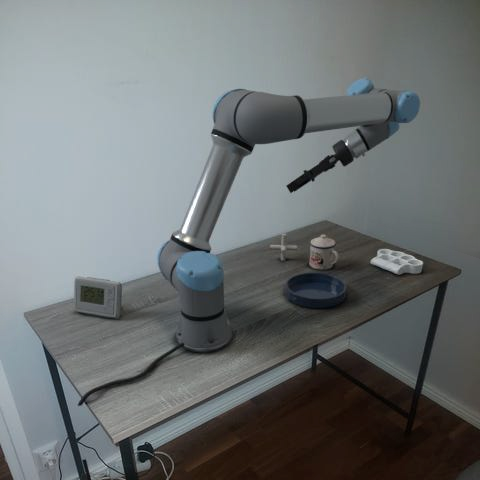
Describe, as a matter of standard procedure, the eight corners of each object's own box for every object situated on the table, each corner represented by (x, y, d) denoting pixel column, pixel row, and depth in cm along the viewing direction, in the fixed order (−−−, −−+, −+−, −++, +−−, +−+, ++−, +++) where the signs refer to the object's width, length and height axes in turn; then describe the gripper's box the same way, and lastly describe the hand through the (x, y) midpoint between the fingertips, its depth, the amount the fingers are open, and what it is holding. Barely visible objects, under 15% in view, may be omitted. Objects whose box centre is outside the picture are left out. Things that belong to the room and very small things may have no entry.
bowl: (337, 313, 135) (338, 303, 134) (277, 301, 142) (277, 292, 140) (350, 287, 150) (351, 278, 149) (295, 277, 157) (296, 268, 155)
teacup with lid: (303, 264, 167) (305, 234, 161) (320, 258, 172) (322, 229, 166) (328, 275, 159) (331, 244, 153) (344, 268, 164) (348, 237, 158)
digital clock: (71, 312, 138) (64, 281, 133) (93, 300, 145) (87, 269, 139) (110, 325, 131) (104, 292, 126) (131, 311, 138) (126, 280, 132)
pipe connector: (296, 255, 175) (297, 230, 170) (296, 265, 166) (297, 239, 161) (270, 254, 176) (271, 229, 171) (269, 264, 167) (270, 239, 162)
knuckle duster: (363, 263, 167) (387, 254, 175) (404, 279, 155) (429, 269, 162) (364, 255, 165) (389, 245, 173) (406, 271, 153) (431, 260, 160)
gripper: (356, 158, 128) (293, 200, 135) (353, 161, 151) (299, 197, 158) (343, 135, 127) (279, 179, 134) (342, 141, 150) (288, 178, 157)
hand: (290, 188), depth 146 cm, fingers open, 13 cm apart
